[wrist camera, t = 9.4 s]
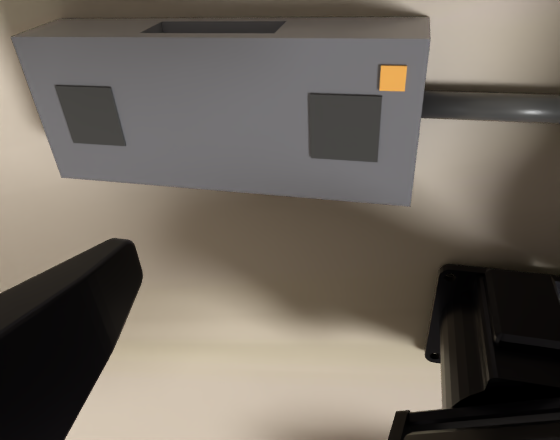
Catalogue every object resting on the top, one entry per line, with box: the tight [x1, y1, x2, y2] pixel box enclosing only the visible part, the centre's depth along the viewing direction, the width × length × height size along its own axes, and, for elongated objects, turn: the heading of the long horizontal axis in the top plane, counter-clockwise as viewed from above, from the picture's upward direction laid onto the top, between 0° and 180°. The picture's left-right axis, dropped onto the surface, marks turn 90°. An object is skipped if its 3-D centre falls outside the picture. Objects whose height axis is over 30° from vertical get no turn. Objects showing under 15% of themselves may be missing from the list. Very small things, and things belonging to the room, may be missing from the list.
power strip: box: [11, 17, 560, 207], centre depth 18 cm, size 6×22×3 cm, turn 93°
